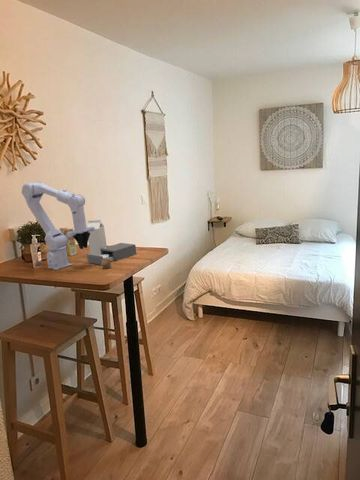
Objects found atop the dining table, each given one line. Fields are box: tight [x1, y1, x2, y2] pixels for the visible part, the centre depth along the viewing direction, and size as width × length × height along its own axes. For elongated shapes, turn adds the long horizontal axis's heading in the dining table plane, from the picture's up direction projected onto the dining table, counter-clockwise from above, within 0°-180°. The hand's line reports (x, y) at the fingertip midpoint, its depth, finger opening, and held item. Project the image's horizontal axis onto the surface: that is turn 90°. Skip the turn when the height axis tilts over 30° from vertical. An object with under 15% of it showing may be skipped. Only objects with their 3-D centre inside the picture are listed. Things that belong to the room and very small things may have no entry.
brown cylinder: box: [101, 258, 112, 270], centre depth 182 cm, size 4×4×4 cm
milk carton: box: [86, 219, 108, 255], centre depth 210 cm, size 7×7×19 cm
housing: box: [100, 242, 137, 262], centre depth 202 cm, size 14×12×6 cm
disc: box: [99, 254, 109, 259], centre depth 195 cm, size 6×6×2 cm
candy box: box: [59, 226, 78, 256], centre depth 217 cm, size 9×4×15 cm, turn 44°
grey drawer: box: [86, 253, 114, 266], centre depth 196 cm, size 14×12×4 cm
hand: (83, 248), depth 186 cm, fingers closed
